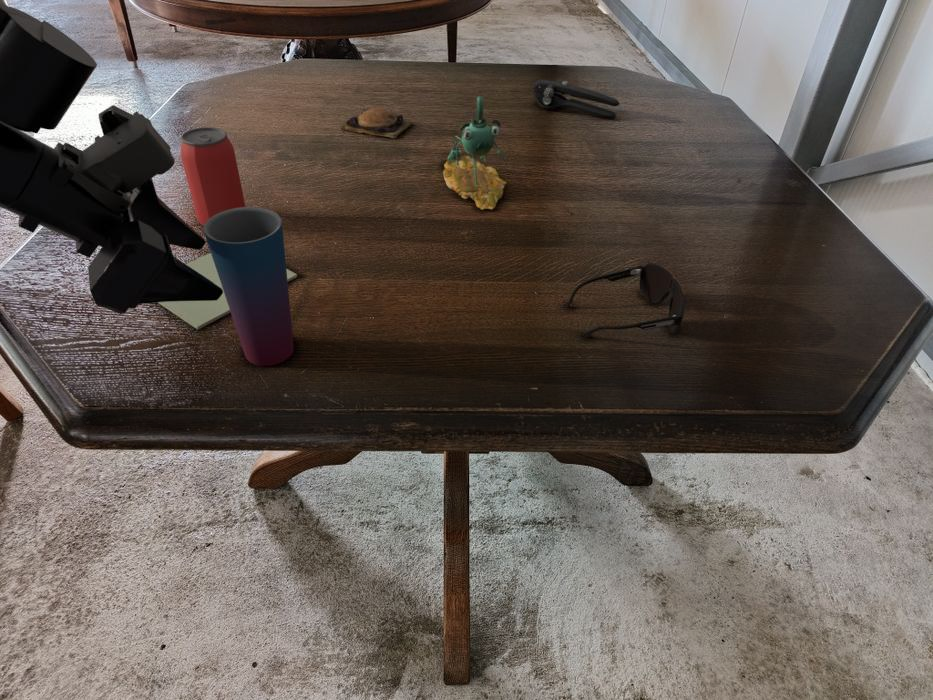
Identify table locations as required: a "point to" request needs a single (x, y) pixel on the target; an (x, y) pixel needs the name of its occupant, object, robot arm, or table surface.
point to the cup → (254, 280)
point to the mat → (205, 310)
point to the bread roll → (378, 123)
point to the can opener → (551, 99)
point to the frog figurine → (475, 163)
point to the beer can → (211, 172)
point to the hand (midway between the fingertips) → (211, 269)
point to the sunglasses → (648, 295)
